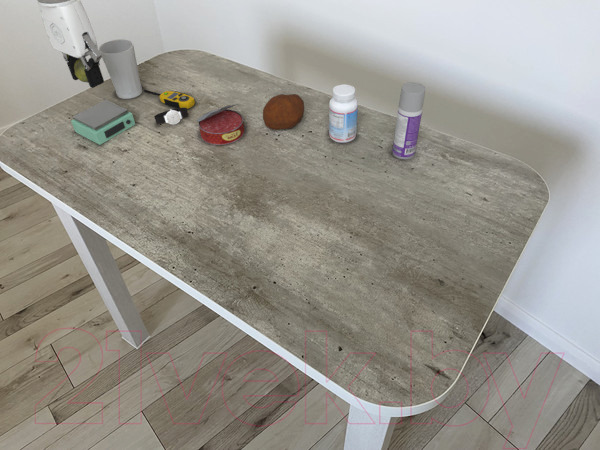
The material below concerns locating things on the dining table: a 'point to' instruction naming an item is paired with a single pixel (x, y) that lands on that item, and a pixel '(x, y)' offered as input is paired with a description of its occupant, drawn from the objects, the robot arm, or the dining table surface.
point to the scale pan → (100, 115)
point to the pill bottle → (343, 114)
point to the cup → (122, 67)
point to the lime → (80, 71)
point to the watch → (171, 116)
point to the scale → (105, 129)
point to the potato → (283, 111)
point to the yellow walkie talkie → (175, 99)
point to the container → (408, 120)
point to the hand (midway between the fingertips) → (88, 80)
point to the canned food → (221, 126)
